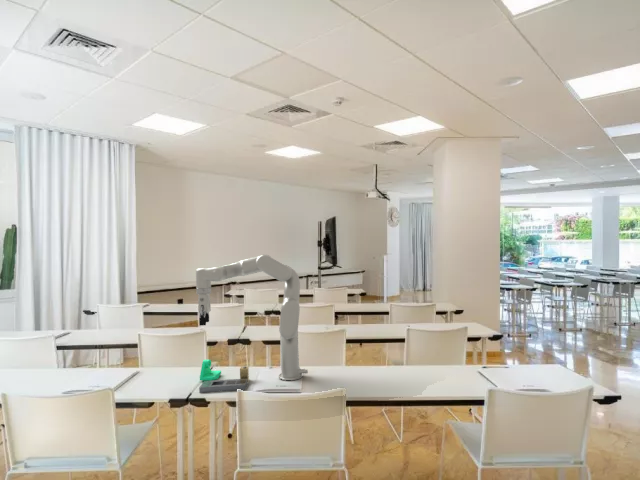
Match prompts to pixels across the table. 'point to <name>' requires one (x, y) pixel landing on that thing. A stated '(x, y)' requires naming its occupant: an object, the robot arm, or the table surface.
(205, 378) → the camera mount
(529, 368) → the table surface
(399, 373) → the table surface
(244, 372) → the nut block
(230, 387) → the grey compartment tray
